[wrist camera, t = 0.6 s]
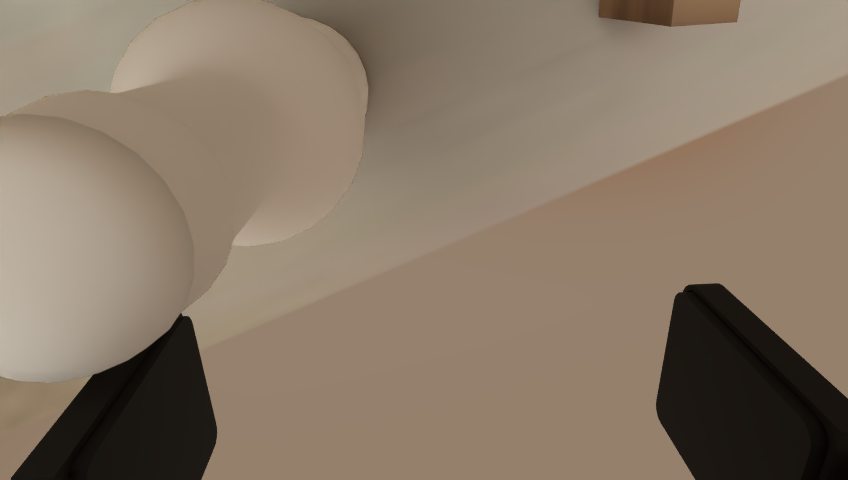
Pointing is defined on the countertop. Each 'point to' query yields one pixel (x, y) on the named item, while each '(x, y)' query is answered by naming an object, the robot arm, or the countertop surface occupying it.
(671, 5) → the board
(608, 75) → the countertop surface
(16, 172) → the bottle
